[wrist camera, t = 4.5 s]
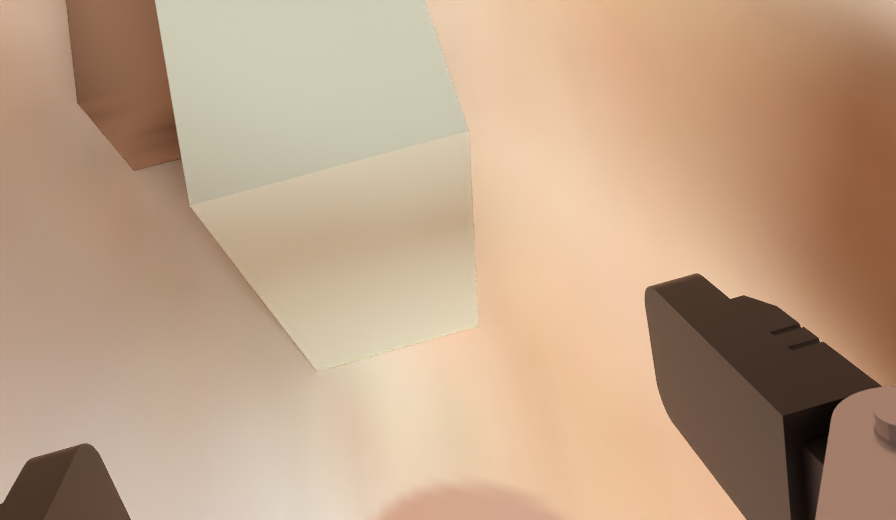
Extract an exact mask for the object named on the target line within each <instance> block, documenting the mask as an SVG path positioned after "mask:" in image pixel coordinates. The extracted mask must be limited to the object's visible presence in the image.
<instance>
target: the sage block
mask: <svg viewBox="0 0 896 520" xmlns="http://www.w3.org/2000/svg"><path fill="white" fill-rule="evenodd" d="M155 4H156V10H157V16H158V22H159V28H160V34H161V40H162V46H163V52H164V57H165V63H166V69H167V75H168V81H169V87H170V93H171V99H172V105H173V111H174V117H175V123H176V129H177V135H178V141H179V147H180V153H181V159H182V165H183V171H184V176H185V182H186V188H187V194H188V200H189V206H190V207H191V208H192V210H193V211H194V212H195V214H196V215H197V216H198V218H199V219H200V220H201V221H202V223H203V224H204V225H205V227H206V228H207V229H208V231H209V232H210V233H211V234H212V236H213V237H214V238H215V240H216V241H217V242H218V244H219V245H220V246H221V247H222V249H223V250H224V251H225V253H226V254H227V255H228V257H229V258H230V259H231V260H232V262H233V263H234V264H235V266H236V267H237V268H238V270H239V271H240V272H241V273H242V275H243V276H244V277H245V279H246V280H247V281H248V283H249V284H250V285H251V286H252V288H253V289H254V290H255V292H256V293H257V294H258V296H259V297H260V298H261V299H262V301H263V302H264V303H265V305H266V306H267V307H268V309H269V310H270V311H271V312H272V314H273V315H274V316H275V318H276V319H277V320H278V322H279V323H280V324H281V325H282V327H283V328H284V329H285V331H286V332H287V333H288V335H289V336H290V337H291V338H292V340H293V341H294V342H295V344H296V345H297V346H298V348H299V349H300V350H301V352H302V353H303V354H304V355H305V357H306V358H307V359H308V361H309V362H310V363H311V365H312V366H313V367H314V368H315V370H316V371H317V372H319V371H322V370H326V369H329V368H333V367H336V366H340V365H343V364H347V363H350V362H354V361H357V360H361V359H365V358H368V357H372V356H375V355H379V354H382V353H386V352H389V351H393V350H396V349H400V348H404V347H407V346H411V345H414V344H418V343H421V342H425V341H428V340H432V339H435V338H439V337H443V336H446V335H450V334H453V333H457V332H460V331H464V330H467V329H471V328H474V327H478V308H477V287H476V266H475V245H474V224H473V203H472V182H471V161H470V140H469V129H468V126H467V124H466V121H465V118H464V115H463V112H462V109H461V106H460V103H459V100H458V97H457V94H456V91H455V88H454V85H453V82H452V79H451V76H450V73H449V70H448V67H447V65H446V62H445V59H444V56H443V53H442V50H441V47H440V44H439V41H438V38H437V35H436V32H435V29H434V26H433V23H432V20H431V17H430V14H429V11H428V8H427V6H426V3H425V0H155Z"/></svg>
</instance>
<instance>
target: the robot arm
mask: <svg viewBox="0 0 896 520" xmlns="http://www.w3.org/2000/svg"><path fill="white" fill-rule="evenodd" d="M645 307H646V314H647V321H648V328H649V334H650V341H651V348H652V354H653V361H654V368H655V375H656V381H657V386H658V390H659V393H660V396H661V399H662V402H663V405H664V407H665V409H666V412H667V413H668V415H669V417H670V419H671V421H672V422H673V424H674V425H675V426H676V428H677V429H678V430H679V431H680V433H681V434H682V435H683V437H684V438H685V439H686V441H687V442H688V443H689V445H690V446H691V447H692V449H693V450H694V451H695V452H696V454H697V455H698V456H699V458H700V459H701V460H702V462H703V463H704V464H705V466H706V467H707V468H708V470H709V471H710V472H711V473H712V475H713V476H714V477H715V479H716V480H717V481H718V483H719V484H720V485H721V487H722V488H723V489H724V490H725V492H726V493H727V494H728V496H729V497H730V498H731V500H732V501H733V502H734V504H735V505H736V506H737V508H738V509H739V510H740V511H741V513H742V514H743V515H744V517H745V518H746V519H747V520H896V386H889V387H882V386H881V385H879V384H878V383H877V382H875V381H874V380H873V379H872V378H870V377H869V376H868V375H866V374H865V373H864V372H862V371H861V370H860V369H858V368H857V367H856V366H854V365H853V364H852V363H851V362H849V361H848V360H847V359H845V358H844V357H843V356H841V355H840V354H839V353H837V352H836V351H835V350H834V349H832V348H831V347H830V346H828V345H827V344H826V343H824V342H821V343H820V341H819V338H818V337H816V336H815V335H814V334H813V333H811V332H810V331H809V330H807V329H806V328H805V327H803V328H801V327H800V324H799V323H798V322H797V321H795V320H794V319H793V318H792V317H790V316H789V315H788V314H786V313H785V312H784V311H782V310H781V309H780V308H778V307H777V306H774V305H771V304H768V303H765V302H762V301H759V300H756V299H753V298H750V297H747V296H744V295H743V296H740V297H736V298H733V299H729V298H728V297H727V296H726V295H725V294H723V293H722V292H721V291H720V290H719V289H717V288H716V287H715V286H714V285H713V284H711V283H710V282H709V281H708V280H706V279H705V278H704V277H703V276H701V275H700V274H693V275H689V276H685V277H682V278H678V279H675V280H671V281H668V282H664V283H660V284H657V285H653V286H650V287H648V288H647V289H646V291H645ZM0 520H131V519H130V517H129V515H128V513H127V511H126V509H125V507H124V505H123V502H122V500H121V498H120V496H119V494H118V492H117V490H116V488H115V486H114V484H113V482H112V480H111V477H110V475H109V473H108V471H107V469H106V467H105V465H104V463H103V461H102V459H101V457H100V455H99V453H98V452H97V450H96V449H95V448H94V447H93V446H91V445H90V444H81V445H77V446H74V447H70V448H67V449H63V450H59V451H56V452H52V453H49V454H45V455H42V456H38V457H34V458H32V459H30V460H28V461H27V463H26V464H25V465H24V467H23V469H22V471H21V472H20V474H19V476H18V478H17V479H16V481H15V483H14V485H13V486H12V488H11V490H10V492H9V493H8V495H7V497H6V499H5V500H4V502H3V503H2V504H0Z"/></svg>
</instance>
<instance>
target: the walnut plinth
mask: <svg viewBox="0 0 896 520" xmlns="http://www.w3.org/2000/svg"><path fill="white" fill-rule="evenodd" d="M66 5H67V14H68V23H69V32H70V40H71V49H72V58H73V67H74V76H75V85H76V94H77V103H78V104H79V105H80V106H81V108H82V109H83V110H84V111H85V112H86V114H87V115H88V116H89V117H90V118H91V120H92V121H93V122H94V123H95V124H96V126H97V127H98V128H99V129H100V130H101V132H102V133H103V134H104V135H105V136H106V138H107V139H108V140H109V141H110V142H111V144H112V145H113V146H114V147H115V148H116V150H117V151H118V152H119V153H120V154H121V156H122V157H123V158H124V159H125V160H126V162H127V163H128V164H129V165H130V166H131V168H132V169H133V170H134V171H135V170H138V169H142V168H146V167H150V166H154V165H157V164H161V163H165V162H169V161H173V160H176V159H180V158H181V153H180V147H179V141H178V135H177V129H176V123H175V117H174V111H173V105H172V99H171V93H170V87H169V81H168V75H167V69H166V63H165V57H164V52H163V46H162V40H161V34H160V28H159V22H158V16H157V10H156V4H155V0H66Z"/></svg>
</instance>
